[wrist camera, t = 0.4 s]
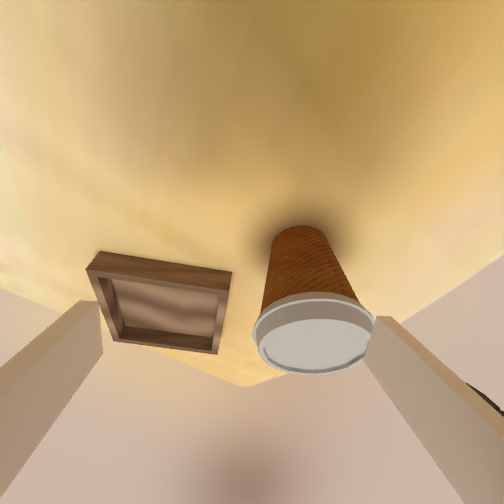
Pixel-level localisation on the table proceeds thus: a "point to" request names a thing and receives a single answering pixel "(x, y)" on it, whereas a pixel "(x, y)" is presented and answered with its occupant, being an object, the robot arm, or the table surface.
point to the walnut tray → (160, 302)
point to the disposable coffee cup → (310, 309)
